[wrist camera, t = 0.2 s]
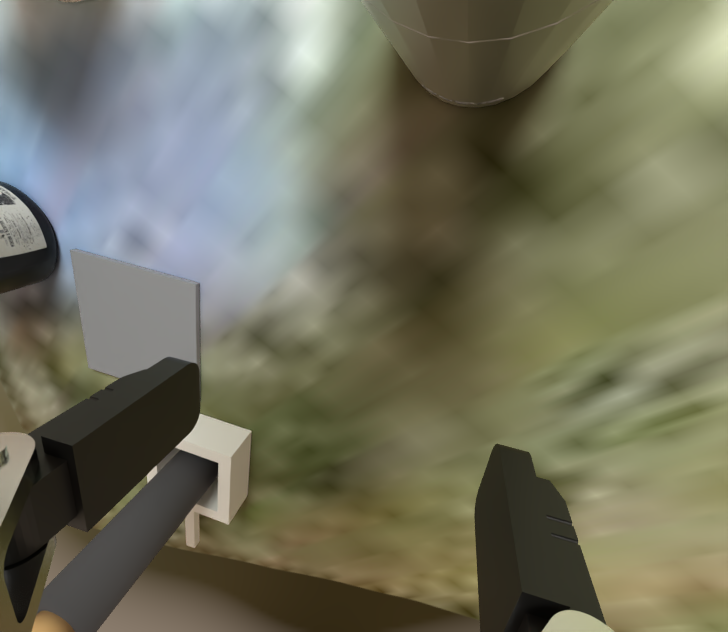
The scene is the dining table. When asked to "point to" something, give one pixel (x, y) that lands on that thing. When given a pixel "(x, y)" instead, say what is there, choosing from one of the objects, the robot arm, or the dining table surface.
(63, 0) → the teacup with lid
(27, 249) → the ink bottle
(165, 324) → the grey felt mat
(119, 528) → the black cable stub
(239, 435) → the square ring with handle
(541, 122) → the dining table surface
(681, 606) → the dining table surface
